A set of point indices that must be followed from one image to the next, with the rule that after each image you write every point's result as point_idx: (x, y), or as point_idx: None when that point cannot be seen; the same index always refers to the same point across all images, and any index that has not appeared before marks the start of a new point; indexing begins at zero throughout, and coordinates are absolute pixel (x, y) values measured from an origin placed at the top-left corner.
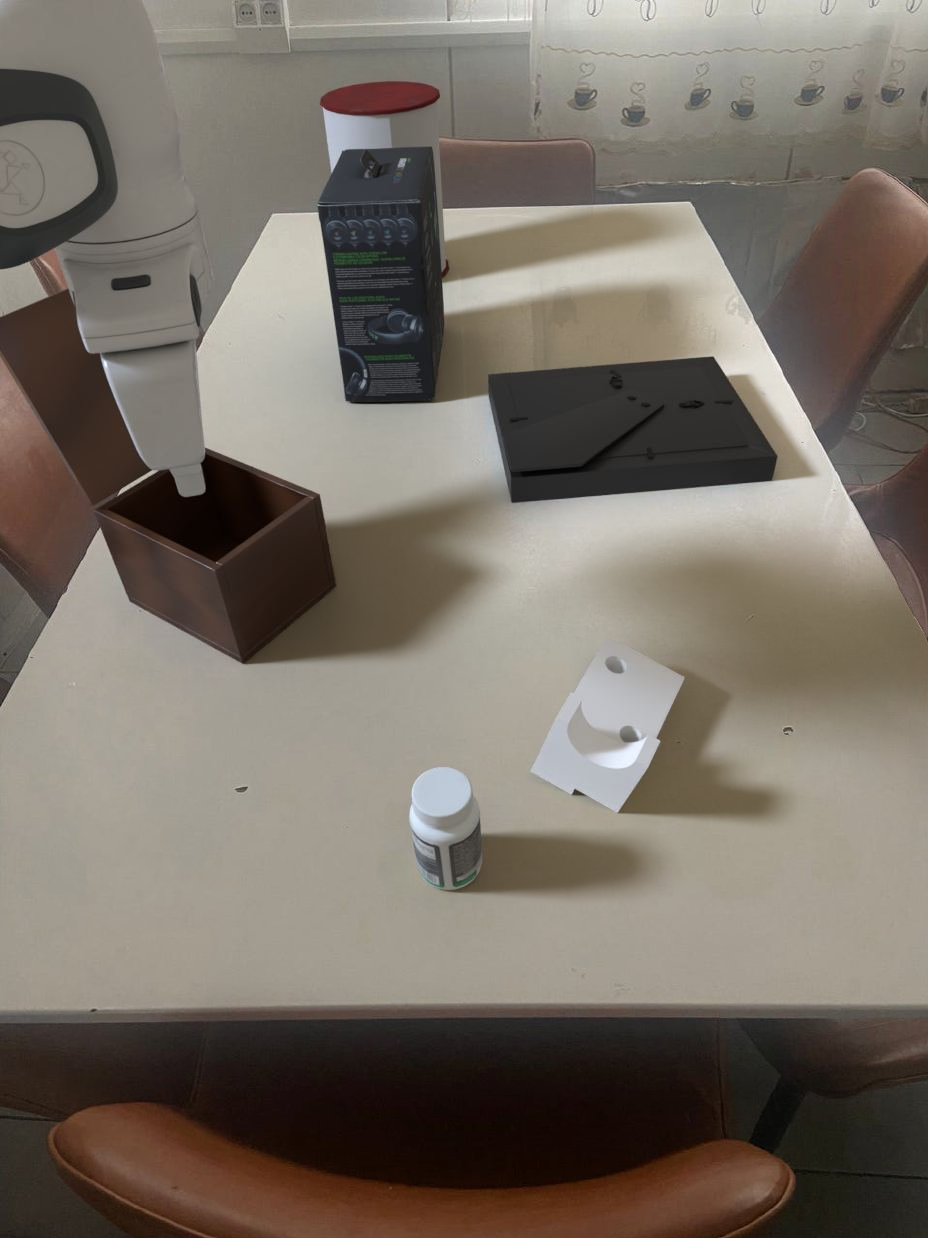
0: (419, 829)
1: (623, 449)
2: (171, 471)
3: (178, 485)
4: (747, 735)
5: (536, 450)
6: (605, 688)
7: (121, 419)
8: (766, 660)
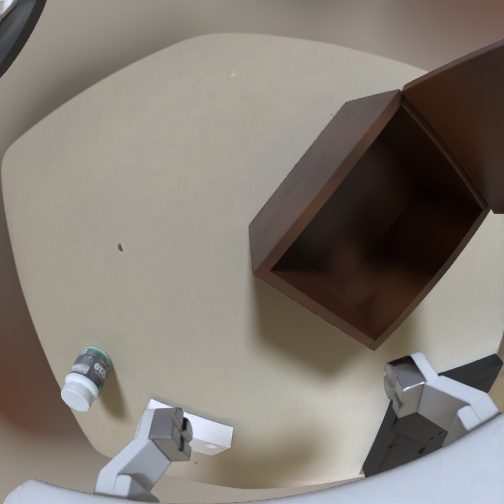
0: (66, 379)
1: (401, 437)
2: (120, 452)
3: (142, 424)
4: (191, 454)
5: None
6: (193, 441)
7: None
8: (237, 464)
